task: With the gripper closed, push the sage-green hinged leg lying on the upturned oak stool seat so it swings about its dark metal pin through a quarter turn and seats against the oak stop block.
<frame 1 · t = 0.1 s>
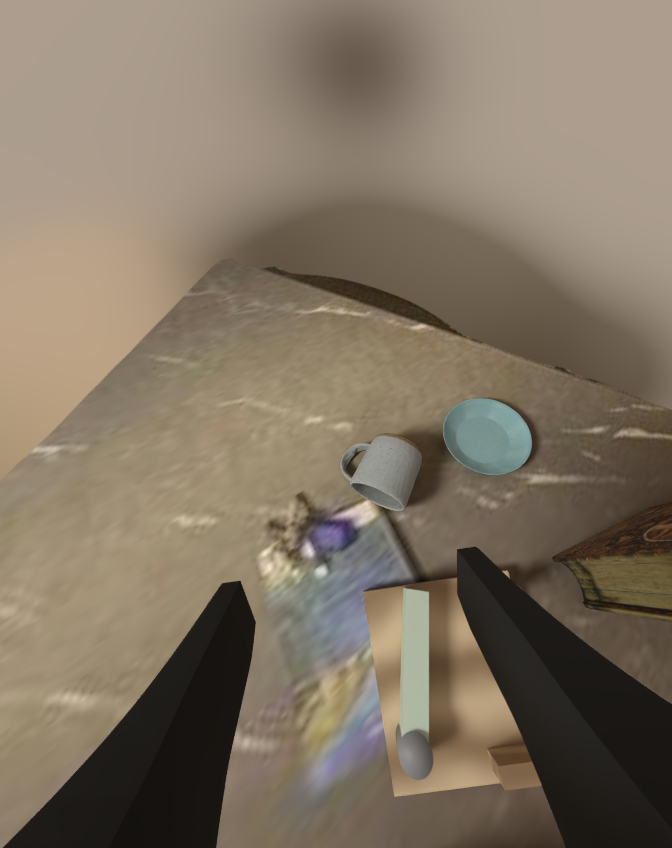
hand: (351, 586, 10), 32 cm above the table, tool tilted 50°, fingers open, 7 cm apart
stool seat: (452, 666, 34), on the table
ceramic mug: (376, 476, 44), on the table
leg: (414, 670, 31), point 4 cm above the table, hinge at 75.0°
book: (619, 552, 37), on the table
saucer: (480, 440, 45), on the table
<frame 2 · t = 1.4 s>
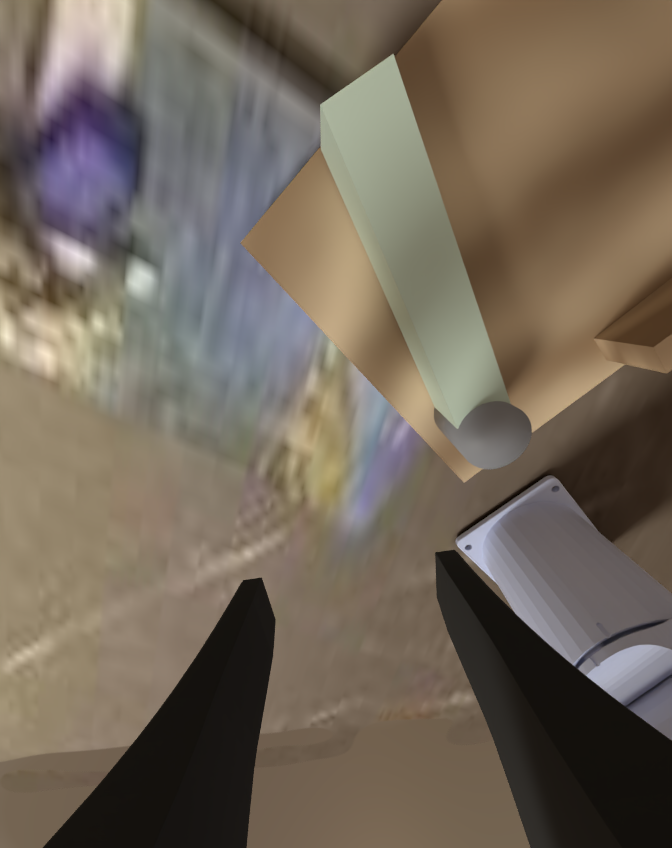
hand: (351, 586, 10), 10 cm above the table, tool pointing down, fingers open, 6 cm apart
stool seat: (490, 258, 16), on the table
leg: (432, 310, 13), point 4 cm above the table, hinge at 75.0°
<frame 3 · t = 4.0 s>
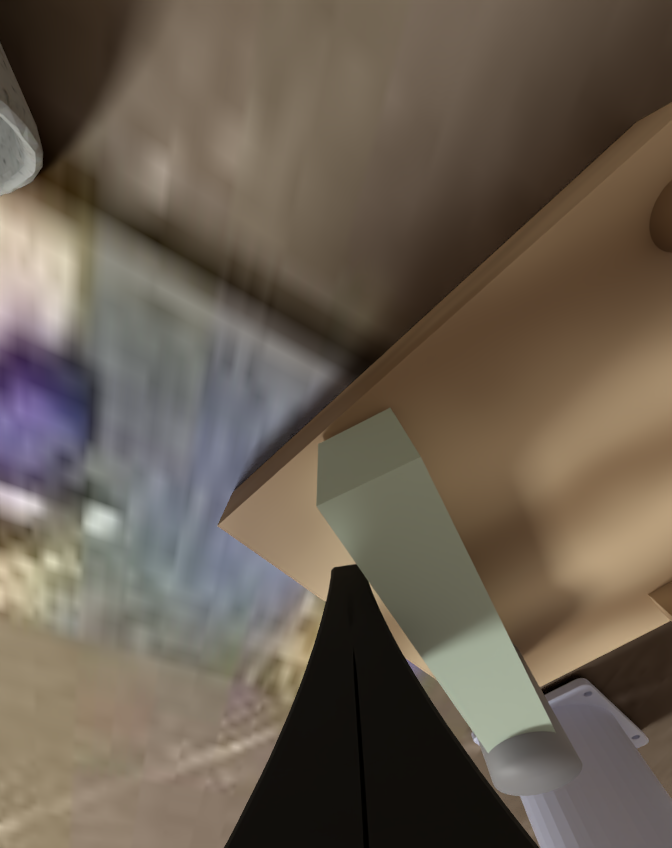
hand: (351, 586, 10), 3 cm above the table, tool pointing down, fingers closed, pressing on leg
stool seat: (523, 492, 13), on the table
leg: (459, 625, 10), point 4 cm above the table, hinge at 75.0°, touching gripper
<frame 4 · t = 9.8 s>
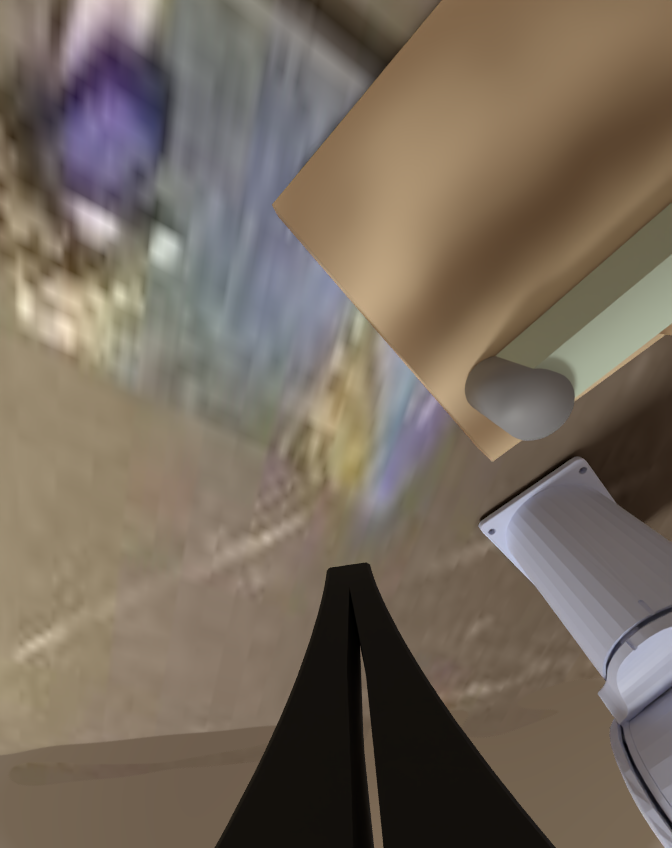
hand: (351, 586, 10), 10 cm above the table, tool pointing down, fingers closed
stool seat: (524, 226, 15), on the table
leg: (629, 299, 13), point 4 cm above the table, hinge at 1.7°
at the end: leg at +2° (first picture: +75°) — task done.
